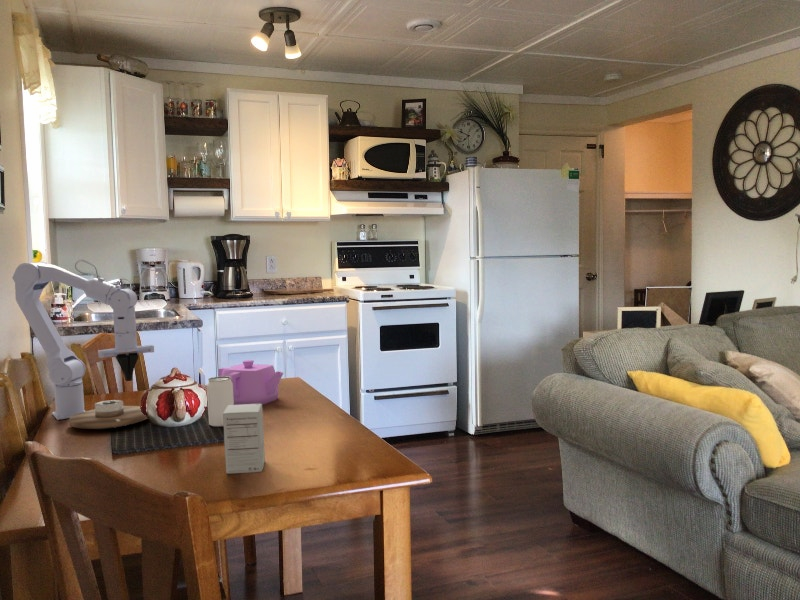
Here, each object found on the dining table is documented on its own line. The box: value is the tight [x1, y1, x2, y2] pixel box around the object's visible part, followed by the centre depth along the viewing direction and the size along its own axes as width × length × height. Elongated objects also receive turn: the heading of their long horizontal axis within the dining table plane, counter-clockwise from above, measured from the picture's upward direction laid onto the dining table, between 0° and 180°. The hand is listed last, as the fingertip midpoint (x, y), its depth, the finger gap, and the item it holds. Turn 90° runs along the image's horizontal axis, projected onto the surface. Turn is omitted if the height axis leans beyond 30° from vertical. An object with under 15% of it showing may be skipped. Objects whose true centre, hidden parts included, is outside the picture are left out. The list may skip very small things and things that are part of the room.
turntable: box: [68, 405, 148, 430], centre depth 188 cm, size 20×20×1 cm
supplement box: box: [223, 404, 266, 474], centre depth 146 cm, size 7×7×13 cm
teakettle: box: [217, 359, 284, 406], centre depth 210 cm, size 17×17×12 cm
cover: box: [94, 399, 124, 418], centre depth 187 cm, size 7×7×3 cm
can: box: [206, 376, 234, 428], centre depth 184 cm, size 6×6×12 cm
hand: (128, 380), depth 199 cm, fingers closed
